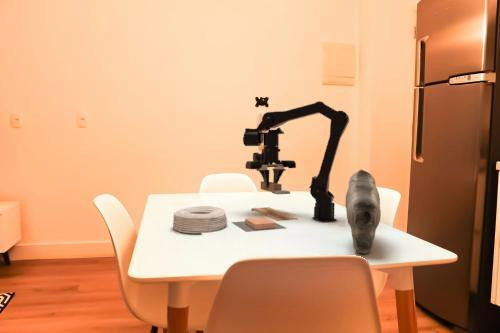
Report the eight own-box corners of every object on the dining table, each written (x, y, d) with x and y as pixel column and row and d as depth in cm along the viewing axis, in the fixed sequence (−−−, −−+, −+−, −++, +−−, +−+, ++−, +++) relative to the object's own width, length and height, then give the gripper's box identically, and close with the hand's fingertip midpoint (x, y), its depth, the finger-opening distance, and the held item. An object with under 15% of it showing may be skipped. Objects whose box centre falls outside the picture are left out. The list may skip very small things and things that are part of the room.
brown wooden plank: (258, 189, 142) (258, 181, 141) (269, 188, 144) (269, 181, 143) (277, 194, 127) (277, 186, 126) (290, 193, 129) (290, 185, 128)
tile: (264, 217, 123) (275, 222, 115) (264, 222, 123) (275, 228, 115) (245, 218, 120) (255, 224, 112) (245, 224, 121) (255, 230, 112)
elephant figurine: (382, 259, 87) (385, 175, 86) (344, 255, 89) (346, 174, 88) (374, 233, 111) (376, 168, 110) (344, 231, 114) (346, 167, 112)
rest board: (269, 209, 151) (269, 207, 151) (297, 220, 129) (297, 218, 129) (251, 210, 148) (251, 208, 148) (277, 222, 126) (277, 220, 126)
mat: (268, 221, 128) (268, 219, 128) (287, 229, 115) (287, 228, 115) (231, 224, 123) (231, 222, 123) (246, 233, 110) (246, 231, 110)
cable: (216, 221, 129) (216, 204, 129) (235, 232, 113) (235, 213, 113) (167, 225, 122) (167, 207, 121) (180, 237, 106) (180, 217, 105)
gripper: (282, 146, 147) (282, 184, 148) (240, 146, 140) (240, 186, 141) (296, 146, 137) (296, 187, 138) (251, 146, 129) (251, 189, 130)
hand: (270, 187), depth 137 cm, fingers closed on brown wooden plank, 3 cm apart
